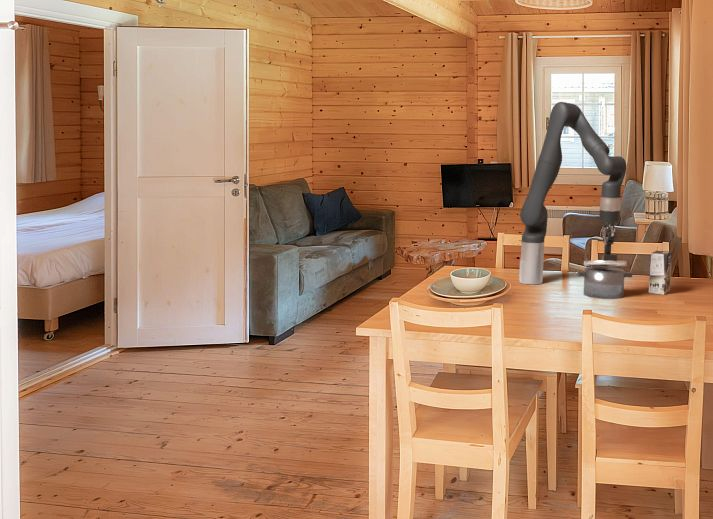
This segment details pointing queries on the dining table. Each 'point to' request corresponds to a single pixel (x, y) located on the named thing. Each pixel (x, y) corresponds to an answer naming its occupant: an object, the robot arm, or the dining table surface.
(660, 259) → the coffee box
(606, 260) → the lid
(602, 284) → the cooker body
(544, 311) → the dining table surface
